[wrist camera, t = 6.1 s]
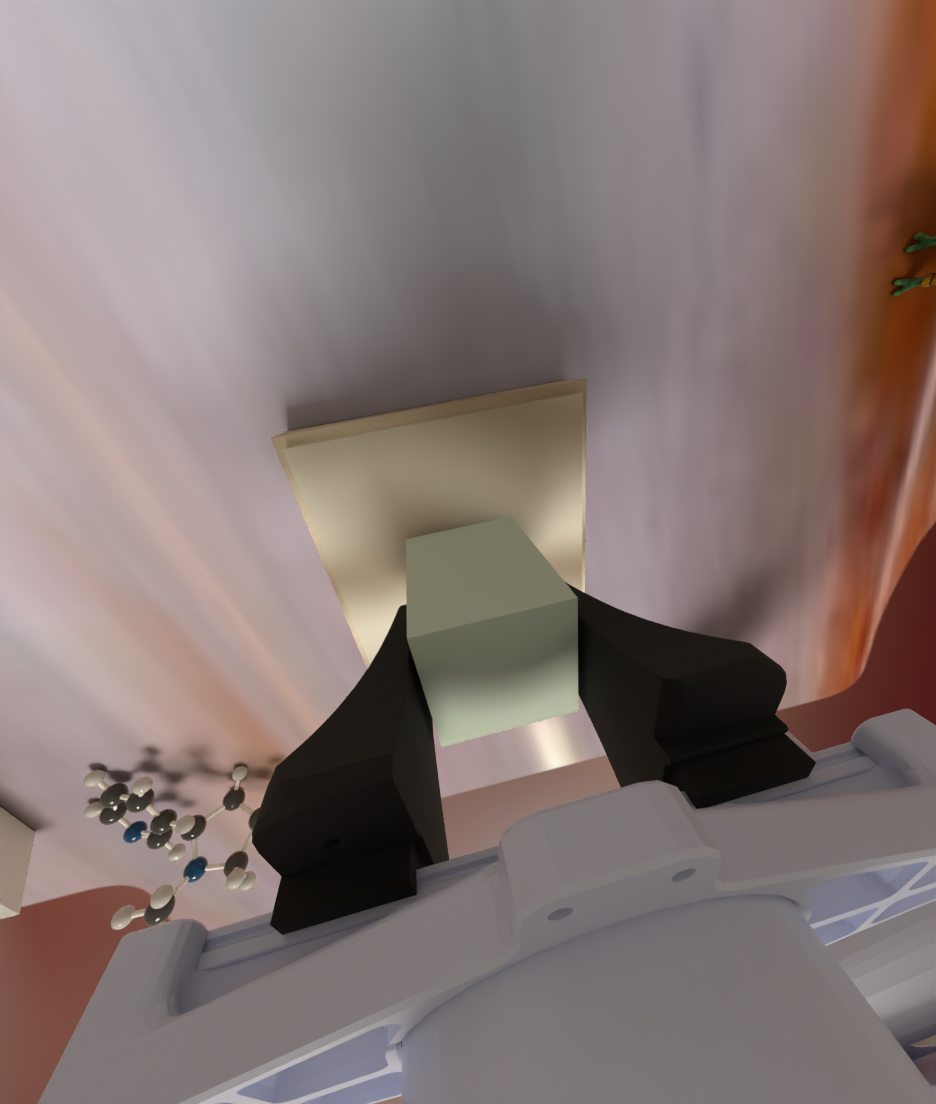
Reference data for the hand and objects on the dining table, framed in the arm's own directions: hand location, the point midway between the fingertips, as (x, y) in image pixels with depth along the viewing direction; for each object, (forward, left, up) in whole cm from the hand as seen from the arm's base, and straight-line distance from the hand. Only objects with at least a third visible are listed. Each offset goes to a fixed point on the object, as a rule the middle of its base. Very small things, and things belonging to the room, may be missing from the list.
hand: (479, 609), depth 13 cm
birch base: (0, 0, -5) cm, 5 cm away
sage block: (0, 0, -2) cm, 2 cm away
